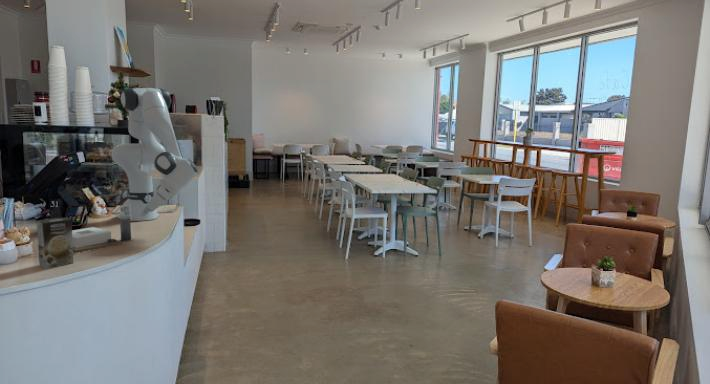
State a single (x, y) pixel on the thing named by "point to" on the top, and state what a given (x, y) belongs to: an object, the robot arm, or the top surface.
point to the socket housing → (89, 236)
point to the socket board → (97, 246)
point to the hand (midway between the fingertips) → (143, 213)
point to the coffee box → (55, 242)
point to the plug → (125, 228)
